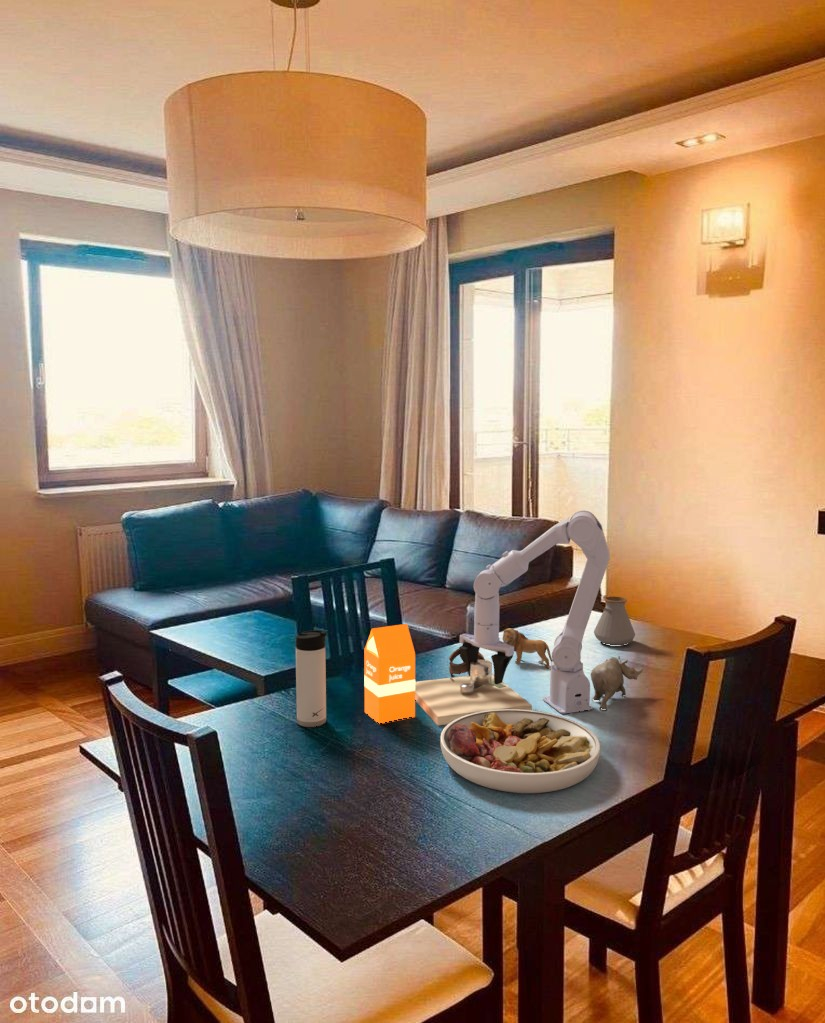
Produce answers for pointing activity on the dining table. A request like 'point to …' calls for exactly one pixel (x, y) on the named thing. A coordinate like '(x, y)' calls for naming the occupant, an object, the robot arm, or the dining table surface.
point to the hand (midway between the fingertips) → (485, 679)
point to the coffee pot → (614, 622)
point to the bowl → (520, 750)
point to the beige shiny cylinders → (477, 676)
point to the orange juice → (389, 674)
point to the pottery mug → (460, 667)
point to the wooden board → (464, 698)
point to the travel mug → (311, 678)
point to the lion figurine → (526, 645)
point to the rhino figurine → (611, 678)
